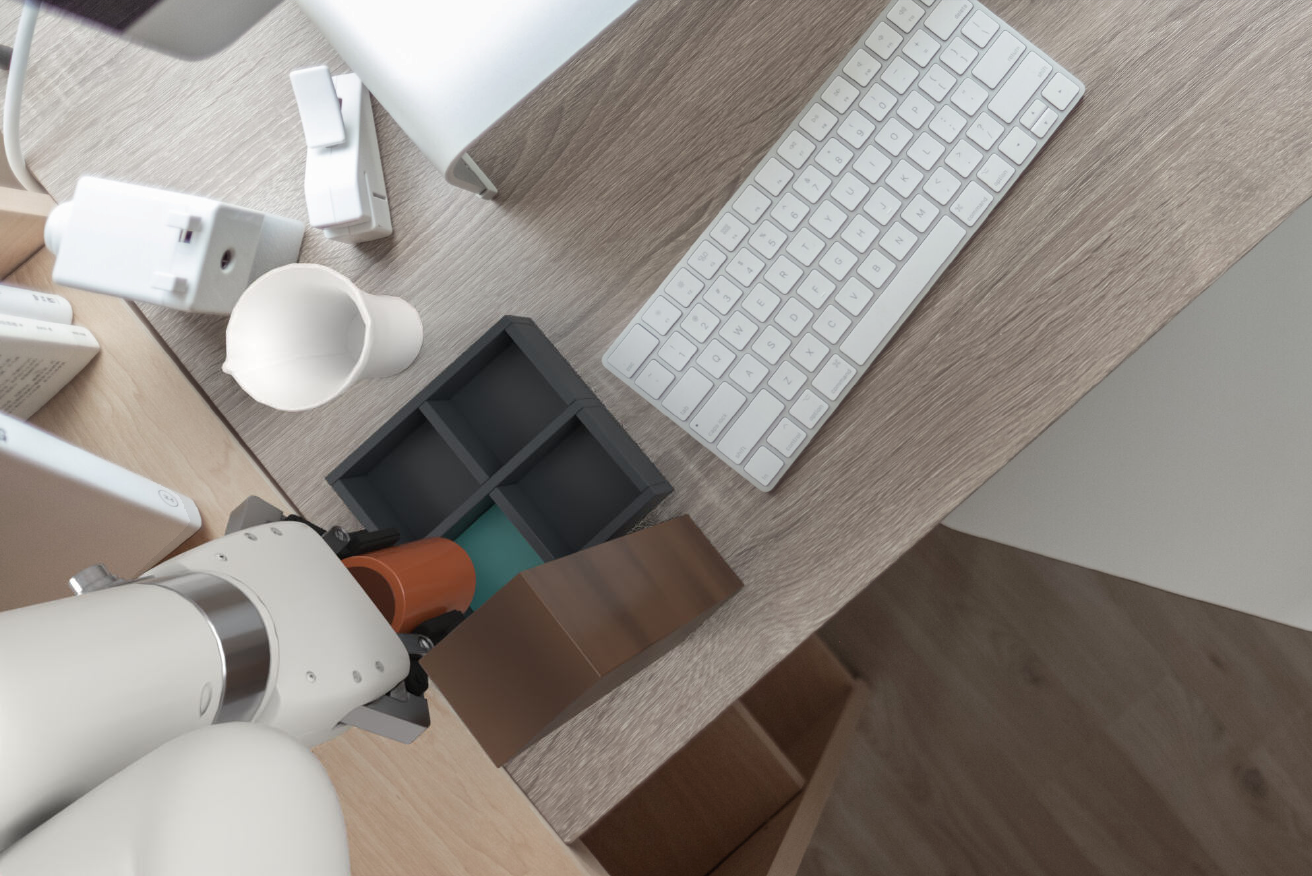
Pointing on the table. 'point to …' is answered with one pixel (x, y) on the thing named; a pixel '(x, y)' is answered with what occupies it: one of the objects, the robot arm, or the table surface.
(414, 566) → the tumbler
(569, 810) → the table surface
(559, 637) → the brown wooden block
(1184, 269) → the table surface
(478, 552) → the divided tray
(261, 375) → the cup
